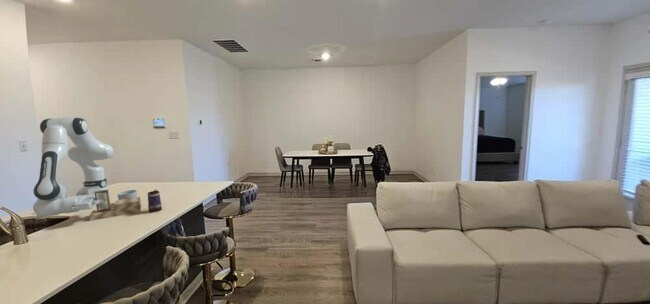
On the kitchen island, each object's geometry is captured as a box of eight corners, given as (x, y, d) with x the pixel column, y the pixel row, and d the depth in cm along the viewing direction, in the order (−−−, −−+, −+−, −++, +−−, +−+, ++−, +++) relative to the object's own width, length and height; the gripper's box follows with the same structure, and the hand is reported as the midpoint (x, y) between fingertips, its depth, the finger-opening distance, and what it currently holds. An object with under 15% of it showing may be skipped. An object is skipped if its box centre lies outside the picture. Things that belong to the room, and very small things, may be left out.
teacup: (131, 205, 187) (129, 193, 186) (114, 206, 187) (112, 194, 186) (144, 199, 201) (143, 188, 200) (129, 199, 201) (127, 188, 200)
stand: (90, 220, 162) (88, 208, 161) (93, 215, 171) (92, 203, 170) (140, 212, 174) (138, 200, 173) (141, 207, 182) (140, 196, 181)
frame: (97, 212, 166) (94, 192, 164) (98, 211, 169) (95, 191, 167) (110, 210, 169) (107, 190, 167) (110, 209, 172) (108, 189, 170)
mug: (160, 211, 173) (157, 192, 171) (147, 213, 171) (144, 193, 170) (165, 206, 183) (163, 188, 181) (152, 207, 181) (150, 189, 180)
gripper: (67, 203, 152) (100, 198, 159) (77, 194, 170) (106, 190, 177) (69, 214, 153) (102, 209, 160) (79, 204, 171) (108, 200, 178)
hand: (104, 199), depth 168 cm, fingers closed on frame, 3 cm apart
